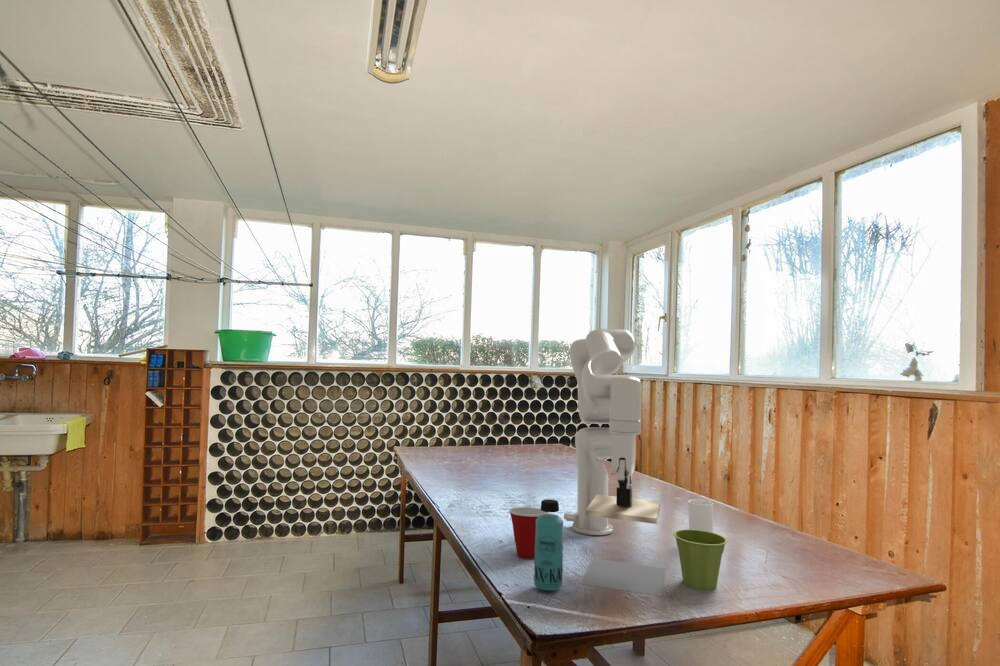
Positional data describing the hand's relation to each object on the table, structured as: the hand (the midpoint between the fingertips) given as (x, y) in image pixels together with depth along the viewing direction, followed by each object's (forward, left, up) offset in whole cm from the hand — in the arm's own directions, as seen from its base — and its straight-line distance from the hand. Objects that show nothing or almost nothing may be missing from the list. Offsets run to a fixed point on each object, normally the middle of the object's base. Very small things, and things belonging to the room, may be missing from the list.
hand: (624, 502), depth 129 cm
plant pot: (+17, +2, -18) cm, 25 cm away
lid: (0, 0, -2) cm, 2 cm away
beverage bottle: (-15, -15, -18) cm, 28 cm away
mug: (+18, +36, -18) cm, 44 cm away
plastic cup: (-26, +6, -18) cm, 32 cm away
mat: (0, 0, -18) cm, 18 cm away
